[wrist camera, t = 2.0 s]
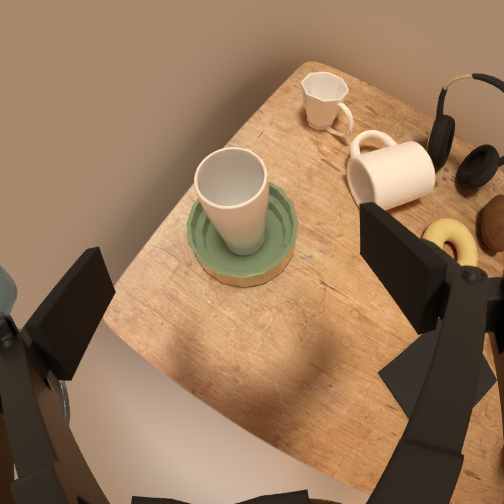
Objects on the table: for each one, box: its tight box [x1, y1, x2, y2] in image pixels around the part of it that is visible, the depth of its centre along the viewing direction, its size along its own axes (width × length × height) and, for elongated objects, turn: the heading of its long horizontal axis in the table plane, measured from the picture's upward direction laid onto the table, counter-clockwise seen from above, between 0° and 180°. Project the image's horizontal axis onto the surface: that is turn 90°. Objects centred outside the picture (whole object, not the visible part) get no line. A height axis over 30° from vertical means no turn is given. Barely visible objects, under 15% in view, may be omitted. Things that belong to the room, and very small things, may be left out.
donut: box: [422, 218, 478, 267], centre depth 39 cm, size 10×5×9 cm
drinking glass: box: [194, 147, 269, 256], centre depth 35 cm, size 7×7×15 cm
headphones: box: [427, 74, 504, 189], centre depth 35 cm, size 9×15×20 cm, turn 54°
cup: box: [301, 72, 354, 137], centre depth 45 cm, size 7×10×8 cm
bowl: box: [187, 181, 298, 287], centre depth 41 cm, size 13×13×5 cm
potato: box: [481, 195, 504, 252], centre depth 38 cm, size 7×10×6 cm
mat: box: [378, 318, 497, 419], centre depth 35 cm, size 14×14×1 cm
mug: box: [347, 130, 435, 210], centre depth 41 cm, size 12×10×8 cm
